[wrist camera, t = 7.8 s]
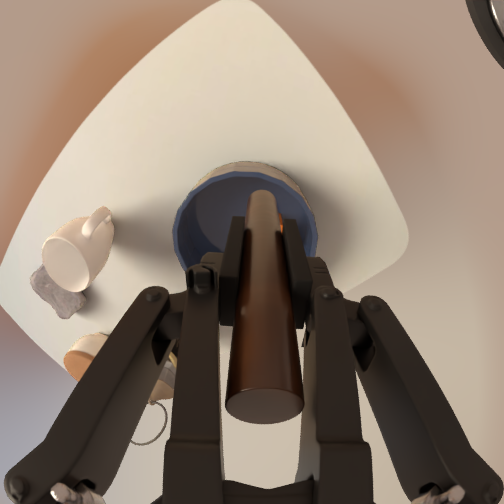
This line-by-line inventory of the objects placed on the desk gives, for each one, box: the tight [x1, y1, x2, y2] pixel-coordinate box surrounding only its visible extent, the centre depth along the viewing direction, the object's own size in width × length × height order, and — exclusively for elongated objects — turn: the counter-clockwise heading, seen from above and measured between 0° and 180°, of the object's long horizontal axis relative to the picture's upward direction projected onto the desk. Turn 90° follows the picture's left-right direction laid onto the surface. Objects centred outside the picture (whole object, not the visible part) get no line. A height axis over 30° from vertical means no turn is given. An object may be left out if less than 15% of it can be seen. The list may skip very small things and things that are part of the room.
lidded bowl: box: [64, 333, 108, 382], centre depth 48 cm, size 13×13×11 cm
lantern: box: [130, 339, 180, 445], centre depth 36 cm, size 9×8×25 cm
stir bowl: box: [173, 161, 318, 272], centre depth 36 cm, size 17×17×6 cm
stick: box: [225, 190, 305, 424], centre depth 15 cm, size 2×2×18 cm
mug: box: [42, 206, 114, 292], centre depth 34 cm, size 12×8×11 cm
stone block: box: [30, 264, 86, 319], centre depth 44 cm, size 12×5×10 cm
